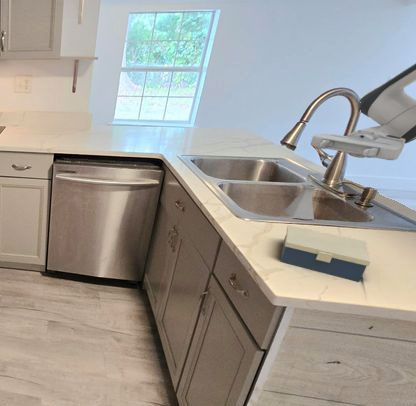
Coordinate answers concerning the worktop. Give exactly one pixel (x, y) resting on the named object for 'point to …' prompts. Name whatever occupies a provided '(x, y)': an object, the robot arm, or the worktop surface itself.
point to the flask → (302, 204)
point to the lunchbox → (325, 253)
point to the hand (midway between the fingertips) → (341, 149)
